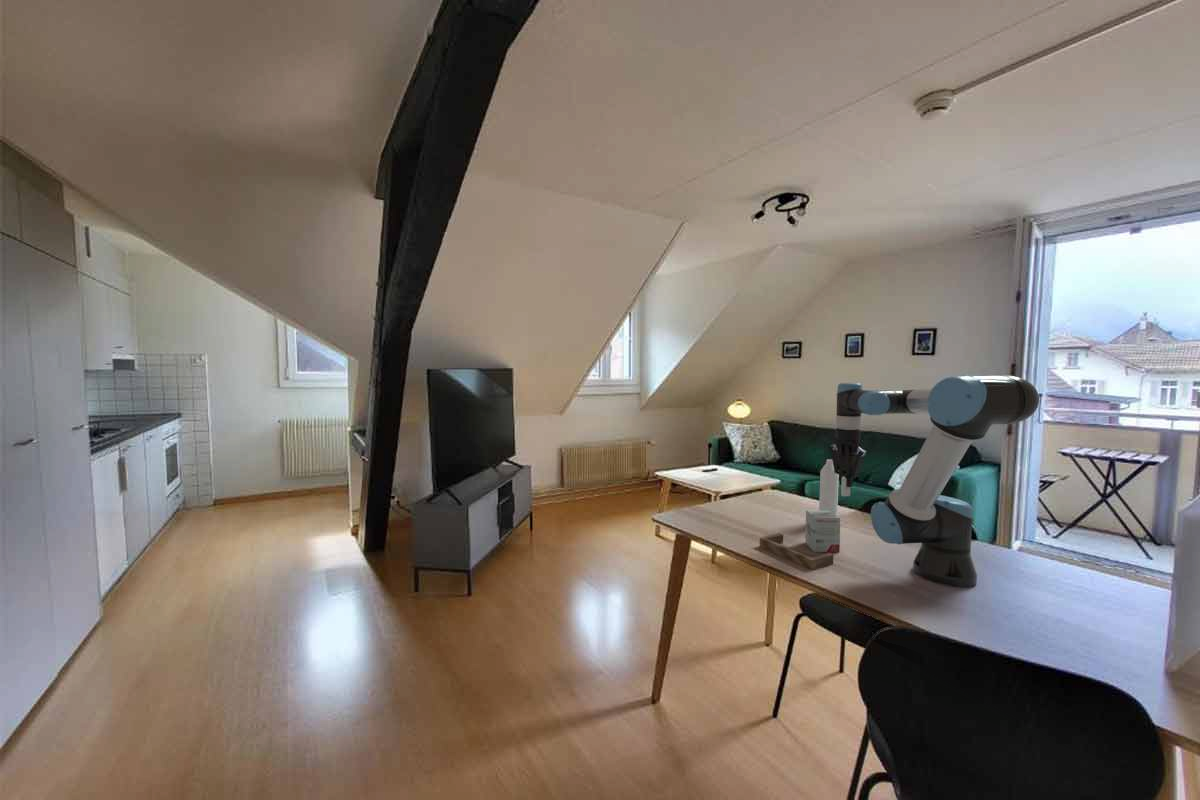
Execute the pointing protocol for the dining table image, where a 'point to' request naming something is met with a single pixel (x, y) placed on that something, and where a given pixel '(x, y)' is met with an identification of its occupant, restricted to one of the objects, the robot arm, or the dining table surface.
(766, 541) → the fence
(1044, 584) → the dining table surface
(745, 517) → the dining table surface
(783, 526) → the dining table surface
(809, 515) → the ink box
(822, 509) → the water bottle
